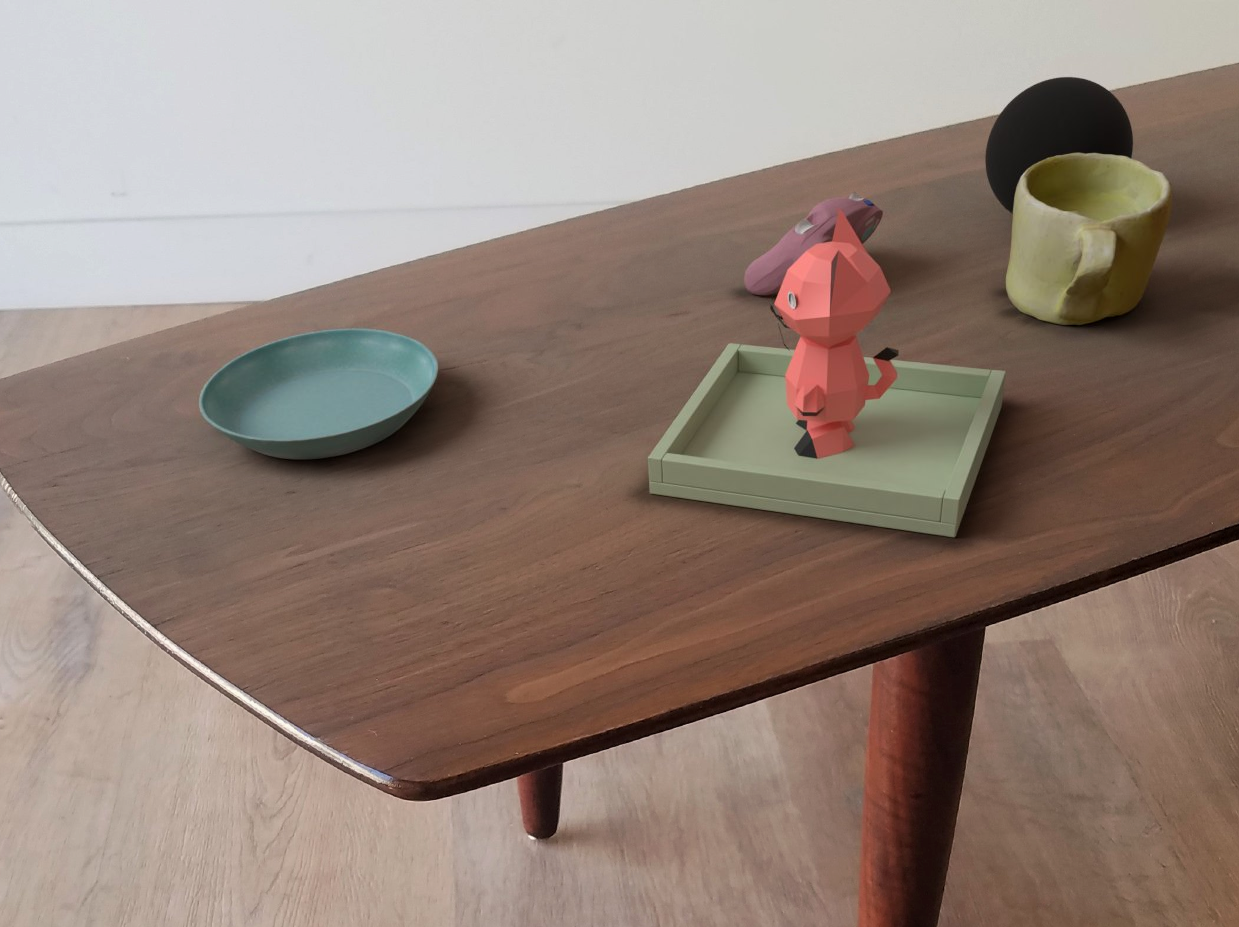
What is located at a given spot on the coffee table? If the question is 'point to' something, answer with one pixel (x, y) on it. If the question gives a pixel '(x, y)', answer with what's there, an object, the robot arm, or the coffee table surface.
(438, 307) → the coffee table surface
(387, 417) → the saucer
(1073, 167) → the mug
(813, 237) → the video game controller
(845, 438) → the cat figurine
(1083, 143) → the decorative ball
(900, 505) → the sage green tray
